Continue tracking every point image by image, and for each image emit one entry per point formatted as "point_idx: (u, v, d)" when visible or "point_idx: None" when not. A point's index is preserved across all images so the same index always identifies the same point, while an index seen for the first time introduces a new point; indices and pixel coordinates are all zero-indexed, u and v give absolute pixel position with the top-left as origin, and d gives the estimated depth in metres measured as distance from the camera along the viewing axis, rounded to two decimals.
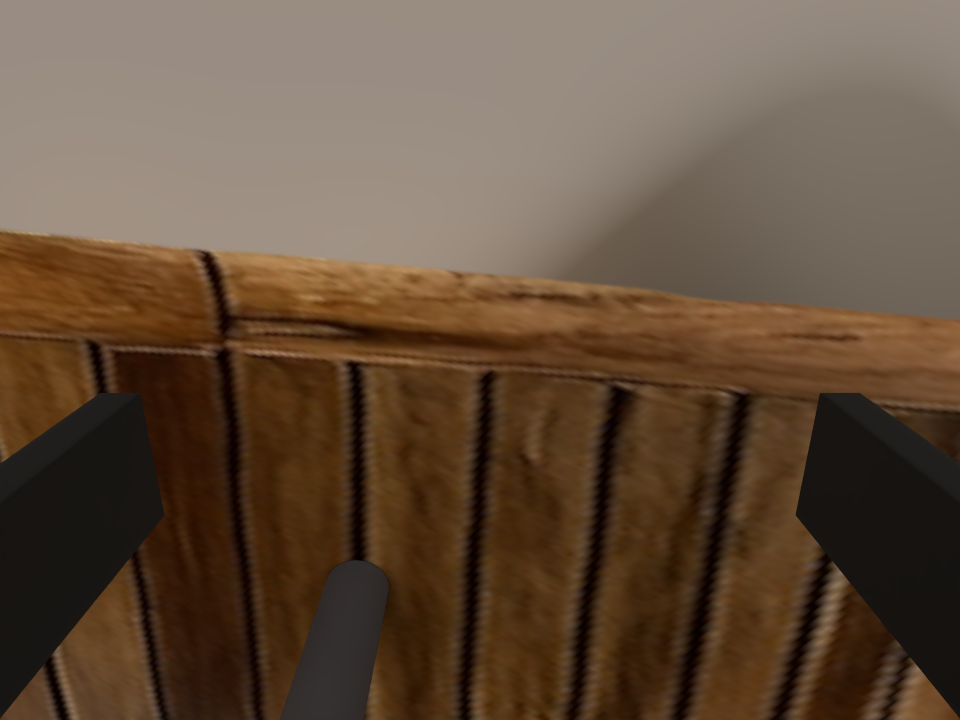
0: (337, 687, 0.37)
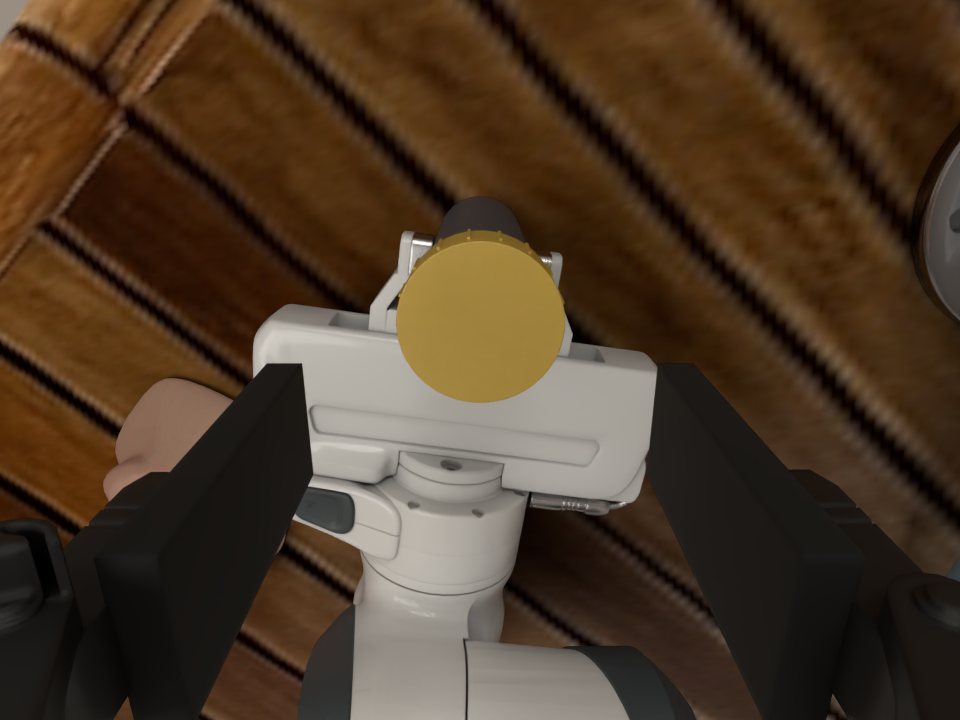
0: (456, 231, 0.25)
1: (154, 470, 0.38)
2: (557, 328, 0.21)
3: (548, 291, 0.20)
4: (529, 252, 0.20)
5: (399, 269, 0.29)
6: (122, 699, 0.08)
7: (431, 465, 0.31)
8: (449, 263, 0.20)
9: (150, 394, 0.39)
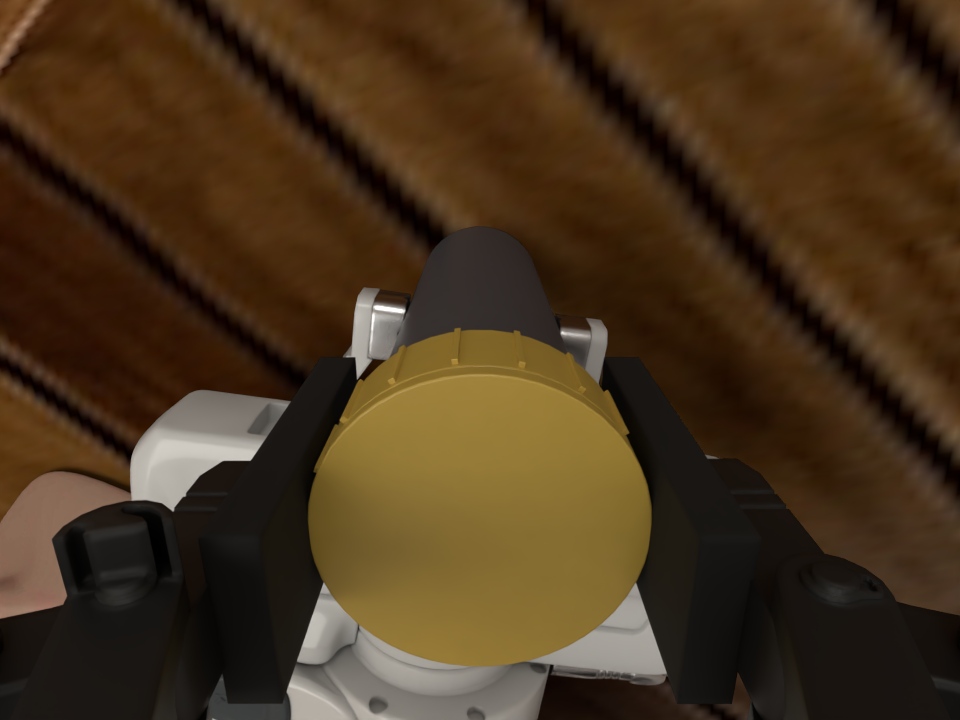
0: (439, 307, 0.15)
1: (31, 601, 0.28)
2: (636, 539, 0.10)
3: (621, 471, 0.10)
4: (581, 389, 0.10)
5: (354, 349, 0.19)
6: (219, 675, 0.08)
7: None
8: (414, 418, 0.09)
9: (28, 493, 0.29)
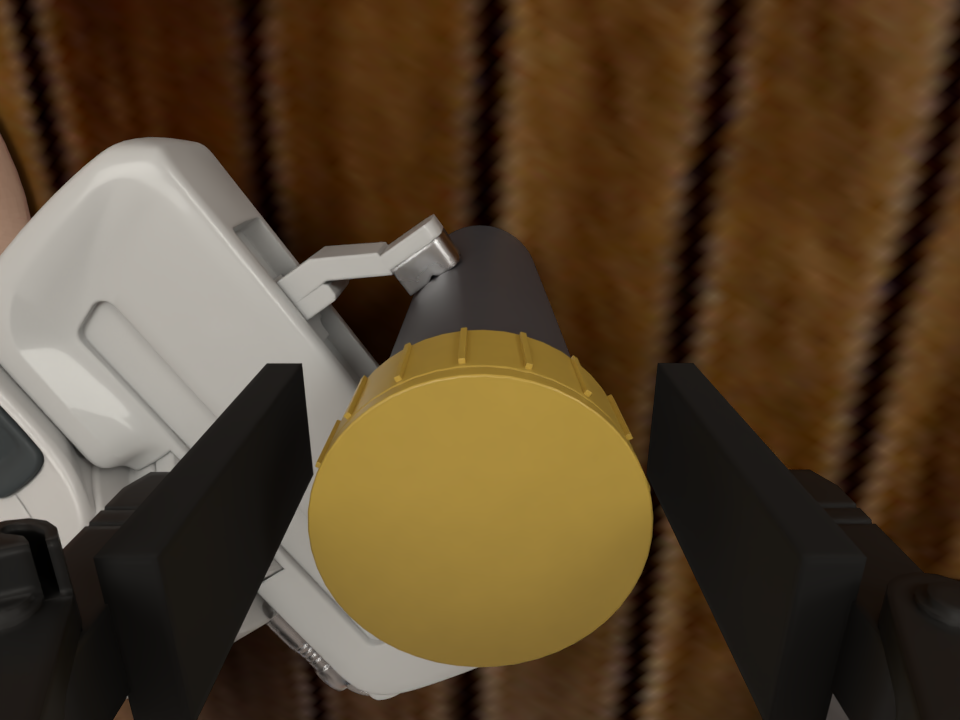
0: (519, 304, 0.15)
1: None
2: (610, 448, 0.10)
3: (542, 404, 0.09)
4: (460, 361, 0.10)
5: (387, 254, 0.18)
6: (122, 699, 0.08)
7: None
8: (346, 484, 0.10)
9: None
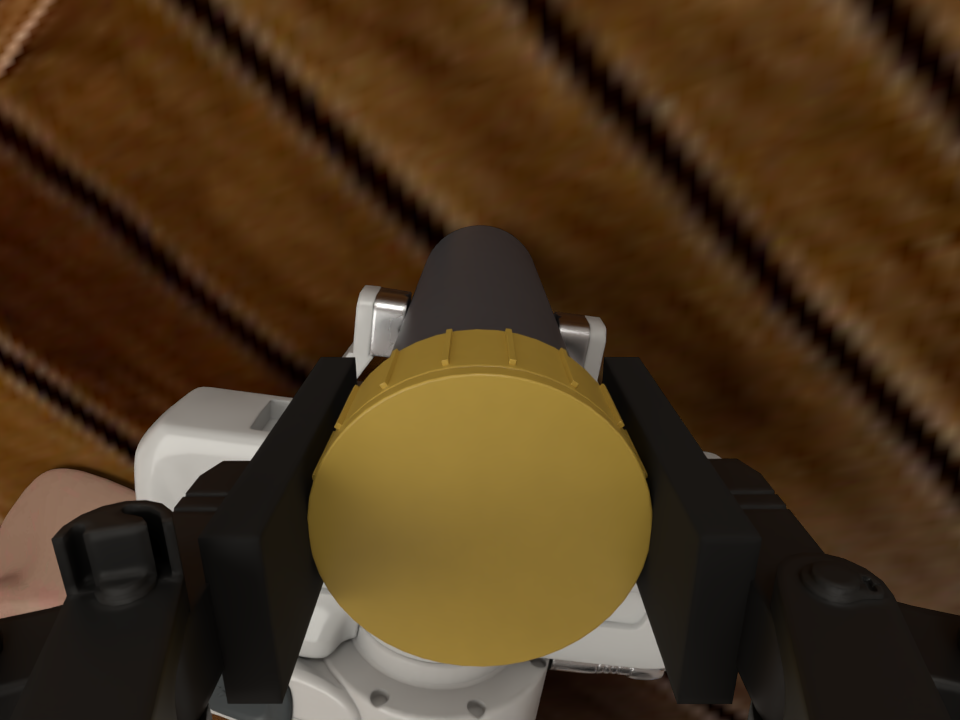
0: (439, 304, 0.15)
1: (34, 597, 0.28)
2: (492, 390, 0.09)
3: (407, 408, 0.09)
4: (336, 428, 0.10)
5: (355, 346, 0.19)
6: (219, 675, 0.08)
7: None
8: (352, 580, 0.10)
9: (32, 490, 0.29)
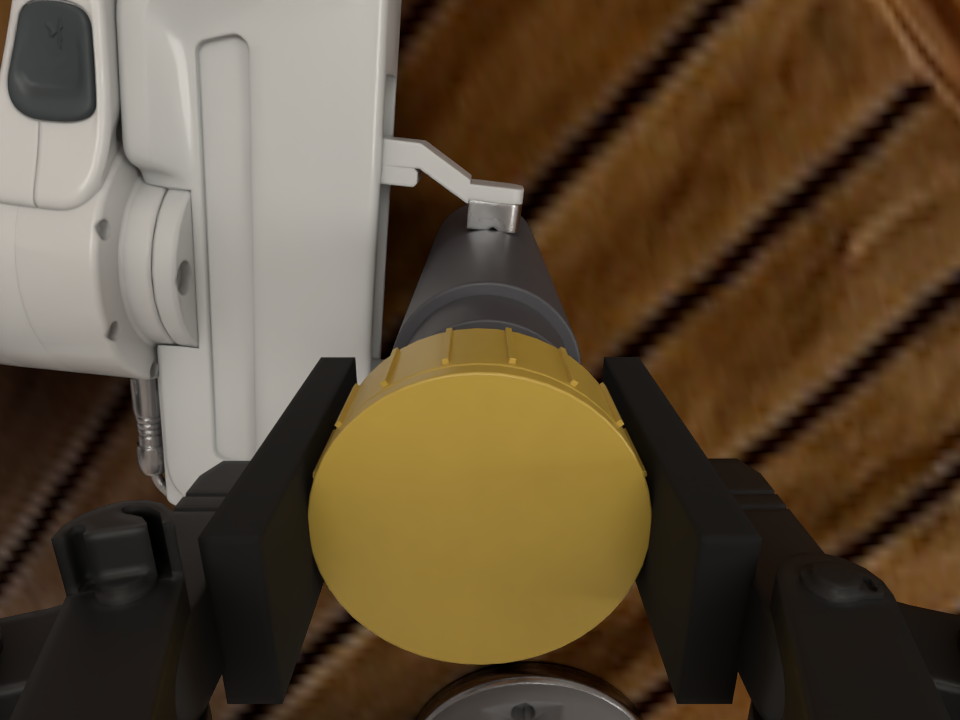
0: (558, 297, 0.18)
1: None
2: (492, 388, 0.09)
3: (407, 406, 0.09)
4: (337, 426, 0.10)
5: (476, 187, 0.21)
6: (219, 675, 0.08)
7: (178, 249, 0.20)
8: (352, 578, 0.10)
9: None
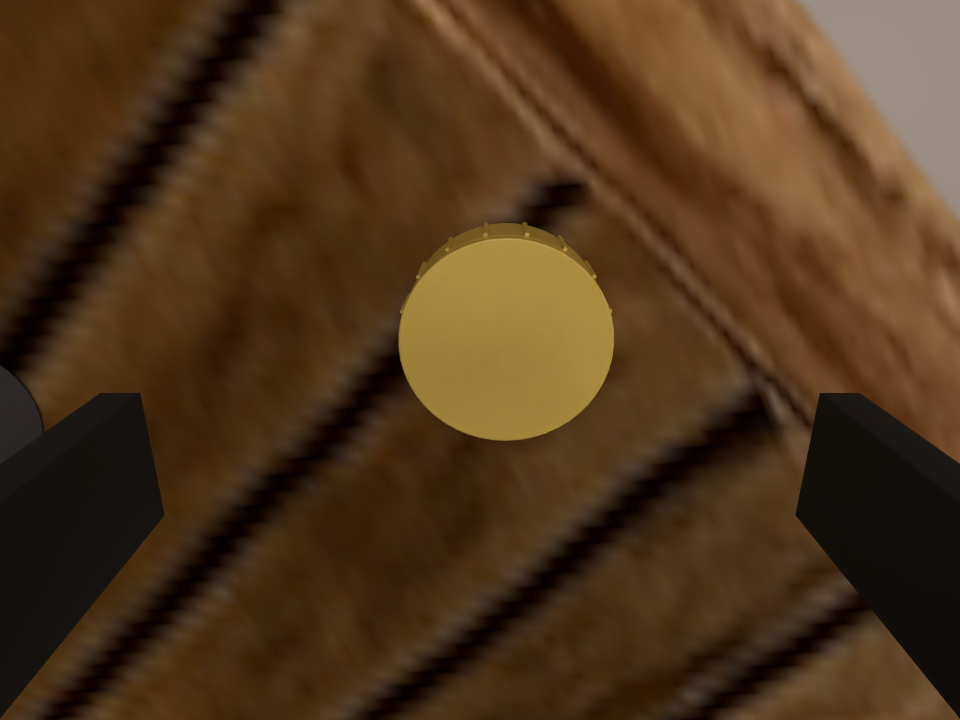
0: None
1: None
2: (514, 248, 0.15)
3: (463, 260, 0.15)
4: (417, 278, 0.16)
5: None
6: None
7: None
8: (425, 377, 0.17)
9: None
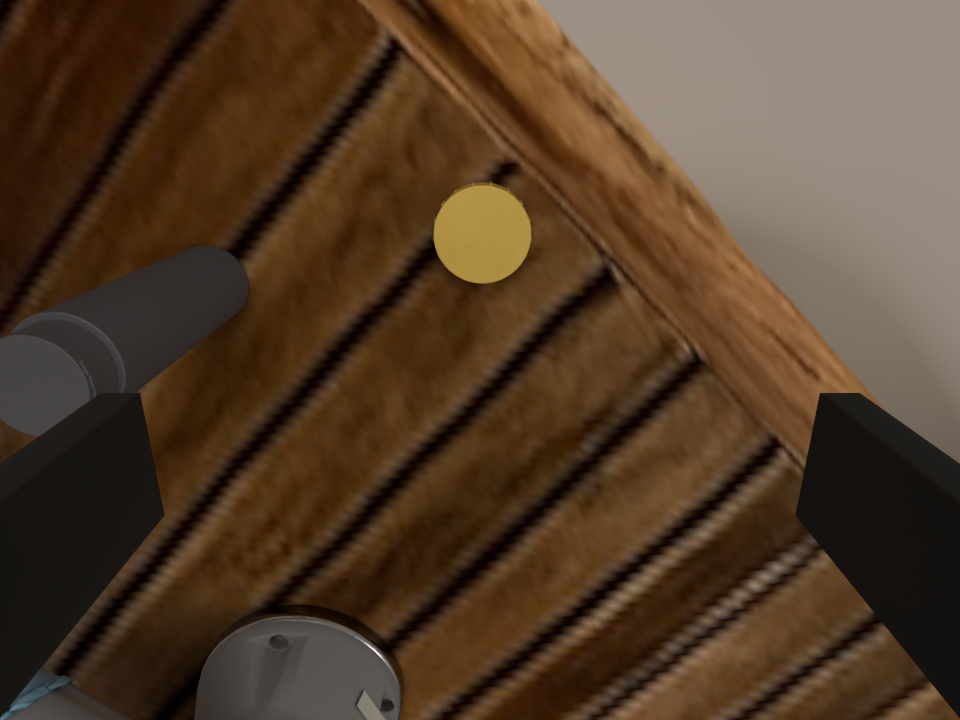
0: (154, 319, 0.28)
1: None
2: (485, 190, 0.35)
3: (462, 195, 0.35)
4: (442, 205, 0.36)
5: None
6: None
7: None
8: (445, 251, 0.36)
9: None
